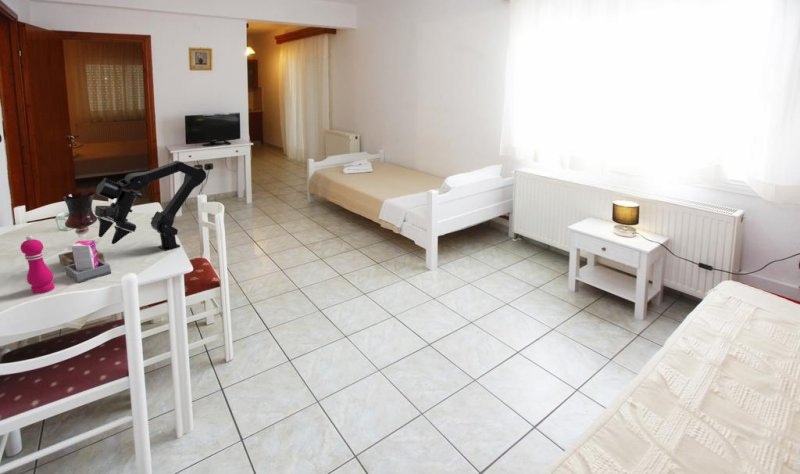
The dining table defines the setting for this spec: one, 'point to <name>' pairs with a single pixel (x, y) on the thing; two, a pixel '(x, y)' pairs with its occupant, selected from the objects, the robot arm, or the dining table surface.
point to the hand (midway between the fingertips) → (106, 240)
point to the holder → (69, 258)
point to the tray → (88, 272)
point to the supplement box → (85, 255)
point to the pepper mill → (37, 266)
